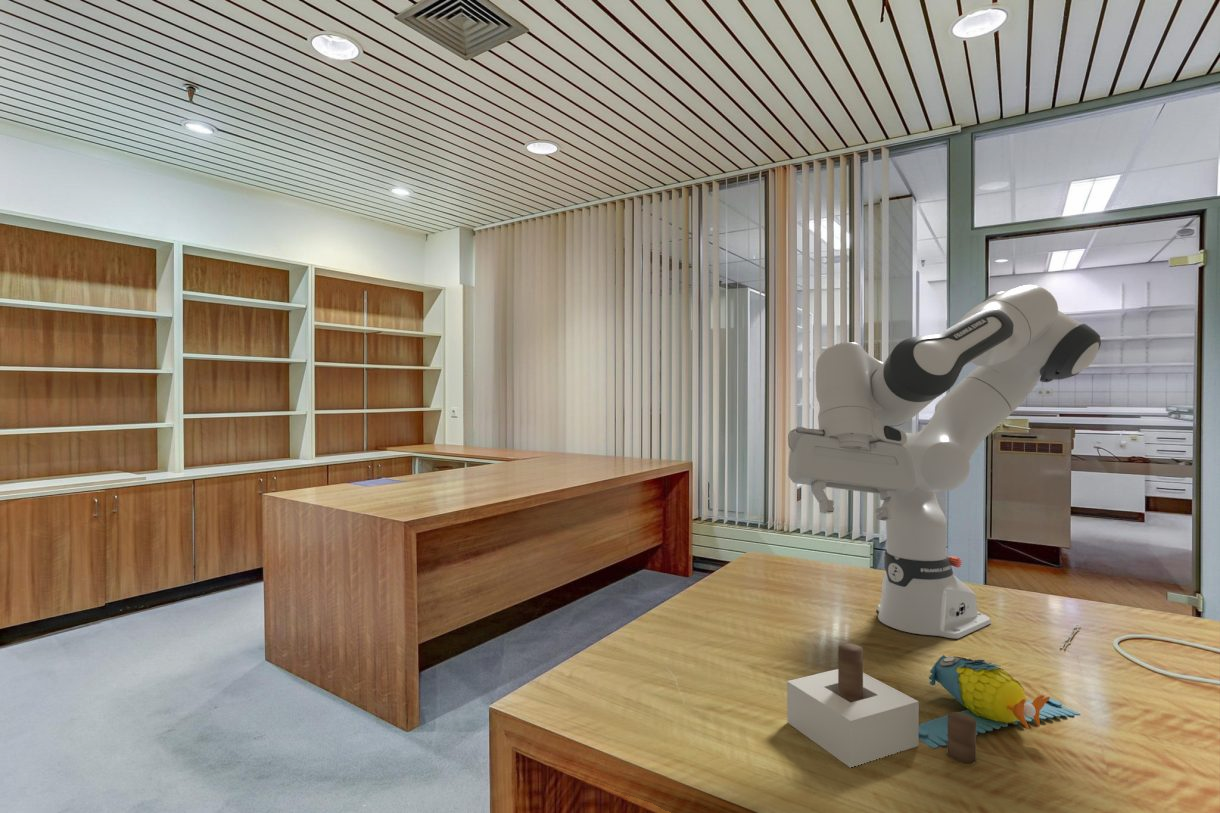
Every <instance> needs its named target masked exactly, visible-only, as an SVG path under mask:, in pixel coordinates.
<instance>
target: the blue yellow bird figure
mask: <svg viewBox="0 0 1220 813" xmlns="http://www.w3.org/2000/svg"><path fill="white" fill-rule="evenodd" d="M929 672H930V675H929V676H928V679H929V680H930V681H929V685H931V686H934V685H936V682H938V684H940V685H941V686H942V687H943V688H944V689H945V690H946V691H947V692H948V693H949V694H950V695H951V696H952V697H953V698H954V699H955V700H956V701H957V702H958V703H959V704H961V705H962V707H964V708H965V710H962V711H959V712H960V713H964V714H967V715H970V716H972V717H973V718H974V719H975V720H976V736H977V735H979V734H986V731H987V732H991V731H993V730H994V729H995V730H999V729H1001V727H1003V728H1005V727H1008V725H1009V724H1011V725H1018V724H1022V725H1023V726H1024V727H1025V728H1026V729H1027V730H1029V729H1030V726H1029V724H1028V723H1030V722H1033V721H1034V722H1035V723H1036V725H1037V726H1038V727H1040V726H1041V725H1040V724H1041V723H1040V721H1041V720H1047V718H1048V719H1053V718H1054V717H1056V718H1060V717H1075V715H1076V716H1080V715H1081V713H1080V712H1078V711H1076V710H1073V709H1070V708H1068V707H1065V706H1063V703H1062V702H1060V701H1058V700H1057V699H1055V698H1052V697H1051V696H1045V695H1039V696H1036V697H1035V699H1034V700H1027V696H1026V693H1025V689H1024V687H1023V686H1022V684H1021V683H1020V682H1019V681H1018V680H1017V679H1015V678H1014V676H1012V675H1010V673H1008V672H1007V671H1005V670H1004V669H1003V668H1002V667H1000V665H999V664H998V663H993V664H992V662H986V661H985V660H984V659H974V660H973V659H971V658H966V657H963V656H946V655H944V654H942V655H941V657H939V658H938V660H936V662H935V663H934V665H933V666H932V668H931V669H930V670H929ZM919 724H920V725H919V741H921V742H922V743H923V744H925V745H927V746H928V747H929V748H932V749H938V748H939V747H946V746H948V714H947V715H944V716H941V717H937V718H933V719H930V720H928V721H925V722H923V723H922V722H921V723H919Z"/></svg>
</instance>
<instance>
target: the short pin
mask: <svg viewBox="0 0 1220 813" xmlns="http://www.w3.org/2000/svg"><path fill="white" fill-rule="evenodd" d="M960 712H961V711H959V712H957V711H954V712H953V711H952V712H949V713H948V714H947V715H948V743H947V756H948V757H949V758H950V759H952V760H953V761H955V762H957V763H960V764H964V765H965V764H967V765H971V764H974V763H975V762H976V761H977V735H976V720H975V719H974V718H973V717H972V716H970V715H967V714H964V713H960Z"/></svg>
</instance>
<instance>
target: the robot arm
mask: <svg viewBox="0 0 1220 813" xmlns="http://www.w3.org/2000/svg"><path fill="white" fill-rule="evenodd" d="M1101 345H1102V341H1101V335H1100V334H1099V333H1098V332H1097V331H1096V330H1095V329H1093V328H1092V327H1091V326H1089V325H1088V324H1086V323H1080V322H1079V321H1078V320H1076V319H1074V318H1072V317H1071V316H1069V315H1067V314H1065V313H1064V312H1062V311H1060V310H1059V306H1058V302H1057V299H1056V298H1055V296H1054V295H1053V294H1052V293H1051V292H1050V291H1049V290H1047V289H1045V288H1044V287H1042V286H1040V285H1033V284H1026V285H1020V286H1016V287H1013V288H1010V289H1008V290H1005V291H1003V290H1002V291H998V292H995V293H992V294H990V295H988V296H987V297H986V298H985V299H984V300H983V301H982V302H981V303H979V304H978V305H976V306H974V307H973V308H971V309H970V310H969V311H968V312H967V313H965V314H964V315H962V317H961V318H960V319H958V321H957V322H956V323H955V324H954V325H952V326H950V327H949V328H946V329H945V330H943V331H939V332H937V333H932V334H925V335H918V336H917V335H915V336H911V337H908V338H906V339H903V340H901V341H899V343H898V344H896V346H894V347H893V349H892V351H891V352H890V353H889V355H888V356H887V357H886V360H885V361H884V362H883V361H880V360H878V359H877V358H875V357H873V356H872V355H870V354H869V353H868V352H867V351H865V349H864V348H863V346H862V345H861V344H860V343H857V342H850V341H847V342H841V343H836V344H835V345H832V346H830V347H828V348H827V349H825V350H824V351H823V352H822V353H821V354H820V355H819V357H818V358H817V361H816V367H815V394H816V395H815V396H816V399H817V402H818V404H819V411H818V414H817V420H818V421H817V422H818V429H817V428H806V427H803V426H797V427H796V428H793V429H792V430H790V431H789V432H788V433H787V434H788V435H787V443H788V448H789V450H790V451H789V454H788V455H789V456H788V469H787V470H788V473H787V474H788V478H789V479H790V480H791V482H792V483H794V484H799V485H806V486H810V489H811V494H813V496H814V498H815V499H816V501H817V503H819V504H818V506H819V512H820V513H821V514H827V515H830V514H832V513H834V512H835V507H834V504H835V503H834V500H833V499H829V498H828V496H827V494H826V492H825V489H826V488H830V489H831V488H832V489H839V490H845V491H854V492H862V493H863V492H864V493H870V494H871V493H872V494H879V497H880V500H881V501H883V502H882V504H881V506H880V507H879V508H878V507H877V508H876V509H874V510H875V516H876V520H879V521H886V550H885V551H884V557H883V565H884V566H883V568H884V569H885V573H884V574H883V577H882V578H883V579H882V584H881V586H882V587H881V594H880V596H881V597H880V603H878V604H877V611H878V616H877V618H878V620H879V621H880V622H881V623H882V624H883V625H886V626H888V627H890V628H893V629H896V630H898V631H901V632H905V633H910V634H918V635H923V636H937V637H944V638H948V639H960V638H962V637H964V636H966V635H968V634H970V633H971V634H972V633H973V632H975V631H977V630H980V629H981V628H984V627H986V626H988V625H990V624H991V623H992V621H991V617H989V615H986V614H984V613H982V612H981V611H978V602H977V595H976V593H975V592H974V591H973V590H972V589H971V588H970V587H968V586H967V585H966V584H965V583H964V582H962V581H961V580H960V579H959V578H958V577H957V576H955V575H954V571H953V568H952V566H953V567H955V568H960V567H961V565H963V564H962V563H963V561H962V558H961V557H955V556H953V555H950V556H949V557H948V556H947V522H948V521H947V518H946V515H945V513H944V512H943V511H942V508H941V506H940V504H939V502H938V498H937V495H936V492H937V493H940V492H949V491H952V490H955V489H957V488H958V487H960V486H961V485H963V484H964V482H965V481H966V480H967V478H968V476H969V473H970V469H971V467H970V466H971V463H970V460H971V458H972V456H973V455H974V453H976V451H977V449H978V447H979V446H980V445H981V443H982V442H983V441H984V440H985V438H987V437H988V436H989V435H990V434H991V433H992V432H993V431H994V430H996V428H997V427H998V426H999V425H1001V423H1003V422H1004V421H1005V420H1007V418H1008V417H1009V416H1010V415H1011V414H1013V413H1014V412H1015V411H1016V410H1017V408H1019V406H1021V404H1022V403H1023V402H1024V401H1025V400H1026V399H1027V397H1028V396H1029V395H1030V393H1031V392H1032V391H1033V390H1034V388H1035V387H1036V385H1037V383H1038V382H1041V383H1049V382H1052V381H1053V380H1055V381H1056V380H1064V379H1069V378H1071V377H1075V376H1076V375H1078V374H1080V373H1081V372H1082V371H1084V370H1085V369H1086V368H1088V367H1089V366H1090V365H1091V364H1092V363H1093V362H1094V360H1095V358H1096V356H1097V355H1098V352H1099V350H1100V349H1101V348H1100V347H1101ZM969 363H972V364H973V365H976V366H977V367H976V368H974V369H973V370H972V371H971V372H970V373H969V374H967V375H966V376H965V377H964V378H963V379H962V380H961V381H960V382H959V383H957V384H956V385H955V383H956V381H957V380H958V378H959V376H960V374H961V372H962V370H963V368H964V367H965V366H966V365H967V364H969ZM954 385H955V386H954ZM953 386H954V387H953ZM952 387H953V388H952ZM951 388H952V389H951ZM950 389H951V390H950ZM949 390H950V391H949ZM947 391H948V392H947ZM946 392H947V393H946ZM945 393H946V394H945ZM943 394H945V395H944V396H943V397H942V398H941V399H940V400H939V401H938V402H937V403H936V405H935V407H934V413H933V415H932V417H931V418H930V420H929V421H928V423H927V424H926V425H925V426H924V427H923V428H922V429H921V430H919V431H918V432H915V433H913V432H905V431H903V430H901V429H899V428H897V427H898V426H901V425H905V423H908V422H909V421H910V420H911V419H913V418H914V417H915V416H917V415H918V414H919V413H920V412H921V411H922V410H924V409H925V408H926V407H928V405H930V404H931V403H932V402H933V401H935V400H936V398H938V397H940V396H942V395H943Z"/></svg>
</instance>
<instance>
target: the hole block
mask: <svg viewBox="0 0 1220 813" xmlns="http://www.w3.org/2000/svg"><path fill="white" fill-rule="evenodd" d="M786 688H787V690H786V697H787V698H786V699H787V700H786V701H787V702H786V703H787V704H786V715H787V716H786V718H787V719H786V722H787V724H789V725H790V726H791V727H793V728H794V729H795V730H797V731H798V732H800V733H801V734H803V735H804V736H805V737H807V738H808V739H809V740H811V741H812V742H814V743H815V744H816V745H817V746H819V747H821V748H822V749H824V751H826V752H828V753H829V754H831V755H832V756H833V757H835V758H836V759H838V760H839V761H840V762H841V763H842V764H844V765H846V766H847V767H849V768H850V769H852V768H851V767H853V768H855V767H854V766H856V767H859V766H861V764H862V765H865V764H868V763H870V762H869V761H871V762H874V761H876V759H877V760H880V759H882V758H886V757H889V756H892V755H895V754H898V753H901V752H904V751H907V750H911V749H913V748H917V747H919V746H920V745H919V741H920V739H919V724H920V722H919V719H920V717H919V715H920V712H919V707H920V706H919V700H917V699H915V698H913V697H911V696H910V695H907V694H906V693H903V692H901V691H899V690H897V689H896V688H893V687H892V686H890V685H887V684H886V683H884V682H883V681H881V680H878V679H876V678H874V677H872V676H870V675H869V674H867V673H865V672H863V699H862V700H859V701H855V702H851V703H850V702H849V701H847V700H845V699H844V698H842V697H840V696H838V668H836V669H833V670H828V671H823V672H820V673H819V672H818V673H816V674H811V675H807V676H803V677H799V678H794V679H790V680H787V682H786ZM900 751H901V752H900ZM897 752H898V753H897ZM891 754H892V755H891ZM888 755H889V756H888ZM885 756H886V757H885ZM879 758H880V759H879ZM873 760H874V761H873ZM867 762H868V763H867ZM864 763H865V764H864ZM858 765H859V766H858Z"/></svg>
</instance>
